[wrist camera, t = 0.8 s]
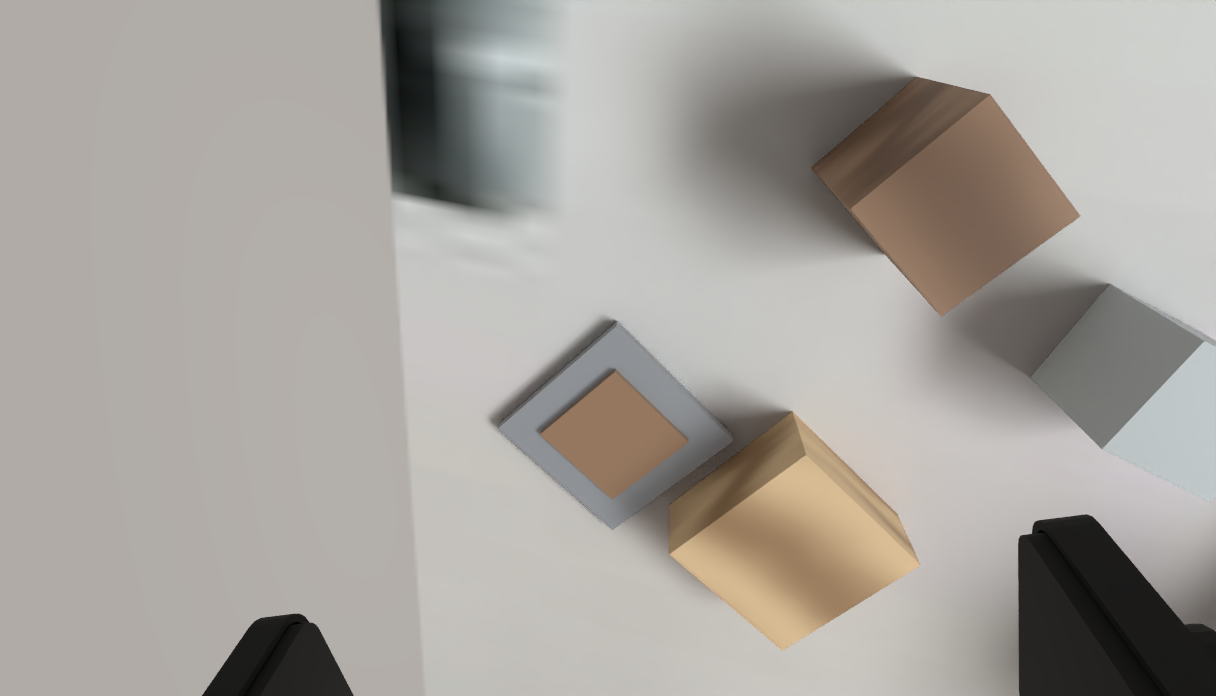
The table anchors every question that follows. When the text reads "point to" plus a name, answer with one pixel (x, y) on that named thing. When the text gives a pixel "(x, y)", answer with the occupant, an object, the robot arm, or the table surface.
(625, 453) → the swatch tile
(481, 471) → the table surface
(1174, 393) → the grey block
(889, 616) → the table surface
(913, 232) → the walnut block
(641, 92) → the table surface
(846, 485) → the oak base
